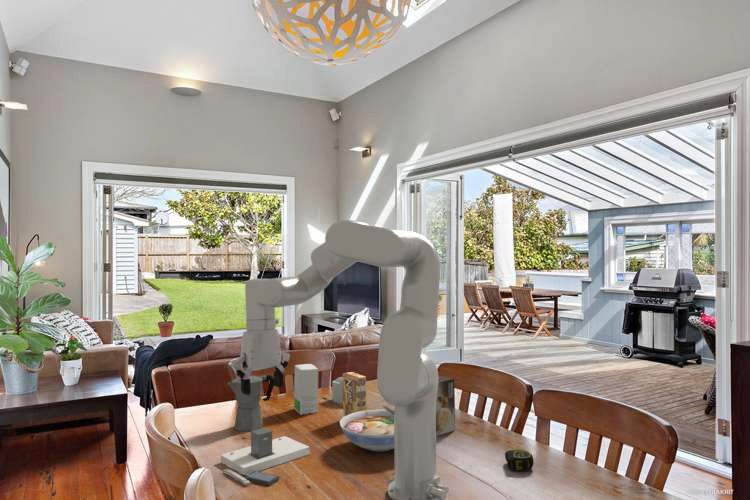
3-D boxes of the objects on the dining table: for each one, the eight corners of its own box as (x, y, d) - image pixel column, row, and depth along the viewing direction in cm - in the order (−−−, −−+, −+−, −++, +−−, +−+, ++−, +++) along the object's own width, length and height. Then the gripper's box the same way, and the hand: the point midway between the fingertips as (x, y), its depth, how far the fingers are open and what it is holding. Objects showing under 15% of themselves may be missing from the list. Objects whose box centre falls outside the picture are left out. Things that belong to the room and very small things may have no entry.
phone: (279, 479, 126) (279, 476, 126) (269, 485, 123) (269, 482, 123) (254, 474, 130) (254, 470, 130) (244, 480, 126) (244, 476, 126)
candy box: (367, 424, 167) (367, 376, 167) (356, 426, 165) (355, 378, 165) (353, 417, 175) (352, 371, 175) (342, 419, 172) (341, 373, 172)
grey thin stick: (250, 484, 124) (250, 481, 124) (245, 486, 123) (245, 482, 123) (228, 471, 131) (228, 467, 131) (223, 472, 131) (223, 469, 131)
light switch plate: (309, 454, 142) (309, 446, 142) (244, 476, 129) (244, 467, 129) (284, 442, 151) (284, 435, 151) (220, 462, 137) (220, 454, 137)
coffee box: (440, 425, 165) (440, 374, 165) (456, 430, 160) (455, 378, 160) (419, 431, 159) (419, 379, 160) (435, 437, 154) (434, 383, 155)
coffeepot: (232, 435, 158) (231, 375, 158) (223, 426, 166) (223, 369, 166) (280, 426, 166) (280, 369, 166) (270, 418, 174) (269, 364, 174)
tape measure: (504, 462, 136) (504, 447, 136) (531, 463, 135) (531, 449, 135) (506, 473, 129) (506, 457, 129) (535, 474, 128) (535, 459, 128)
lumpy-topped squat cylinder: (346, 395, 202) (346, 372, 202) (373, 400, 195) (373, 377, 195) (328, 401, 194) (328, 378, 194) (356, 407, 186) (356, 382, 186)
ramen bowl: (328, 438, 154) (328, 410, 155) (399, 428, 163) (399, 402, 163) (355, 470, 131) (355, 438, 131) (436, 457, 139) (436, 426, 139)
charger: (272, 461, 138) (272, 431, 138) (259, 465, 135) (258, 434, 135) (264, 457, 140) (264, 427, 141) (251, 461, 138) (250, 431, 138)
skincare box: (293, 408, 184) (293, 364, 185) (311, 406, 187) (311, 363, 187) (300, 415, 177) (300, 369, 177) (319, 412, 180) (318, 367, 180)
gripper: (280, 321, 147) (282, 382, 146) (223, 328, 135) (225, 394, 134) (296, 322, 141) (298, 386, 141) (238, 330, 129) (240, 399, 129)
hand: (262, 390), depth 138 cm, fingers open, 9 cm apart
